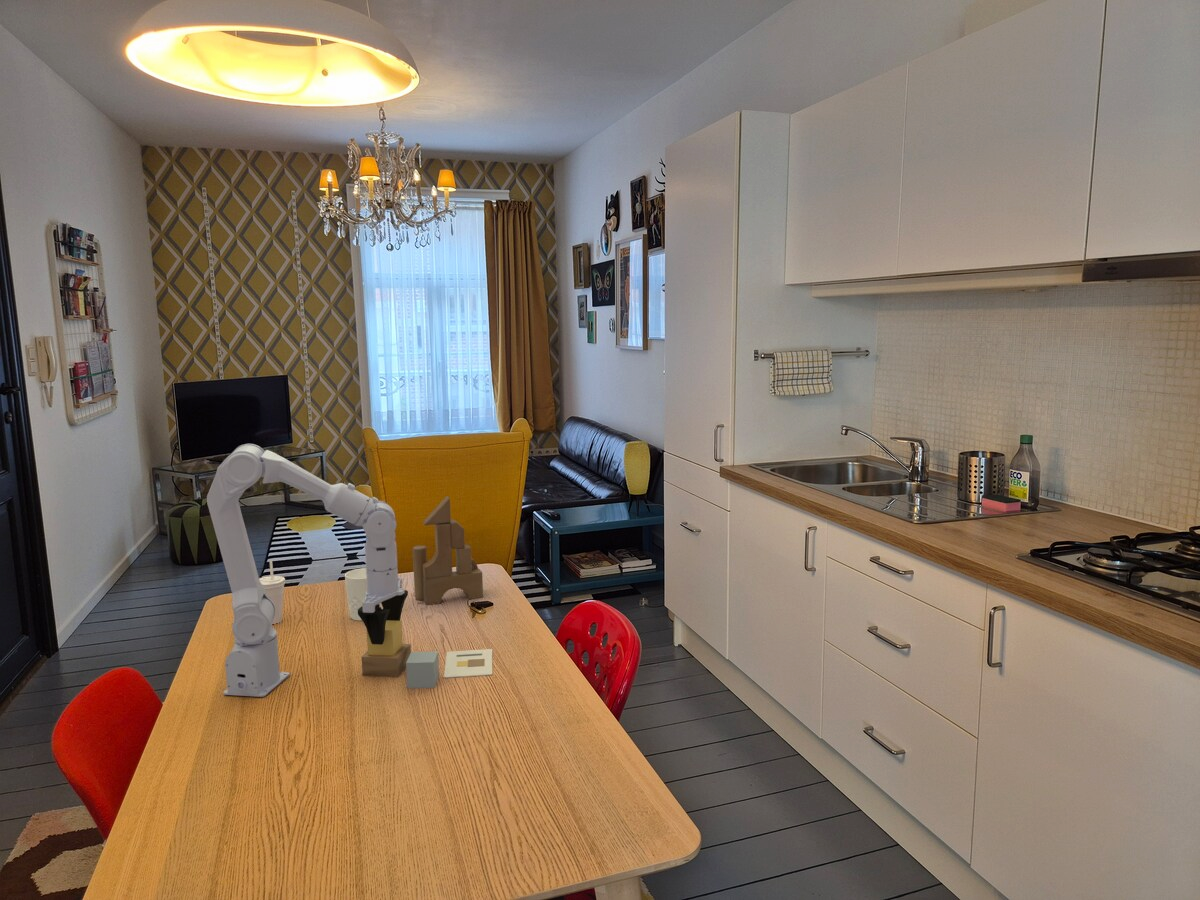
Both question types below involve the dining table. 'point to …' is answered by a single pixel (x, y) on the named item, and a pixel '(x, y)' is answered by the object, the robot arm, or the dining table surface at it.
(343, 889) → the dining table surface
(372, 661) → the walnut base
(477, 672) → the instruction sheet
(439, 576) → the wooden toy
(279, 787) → the dining table surface
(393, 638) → the mustard brick
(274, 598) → the smoothie
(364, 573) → the white cup
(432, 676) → the slate brick
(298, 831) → the dining table surface
